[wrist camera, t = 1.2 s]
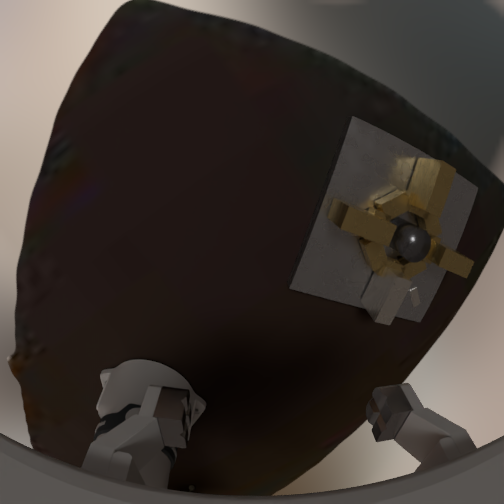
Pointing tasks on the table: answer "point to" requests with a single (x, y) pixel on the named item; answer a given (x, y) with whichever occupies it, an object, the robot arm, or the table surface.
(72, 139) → the table surface
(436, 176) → the gold propeller
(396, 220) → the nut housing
